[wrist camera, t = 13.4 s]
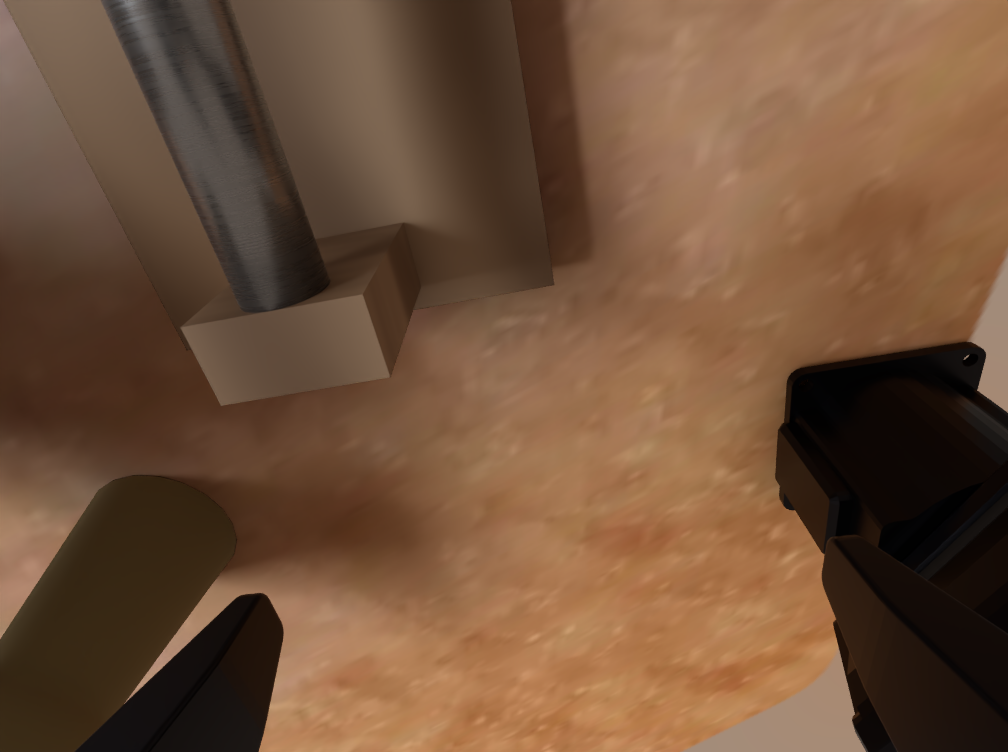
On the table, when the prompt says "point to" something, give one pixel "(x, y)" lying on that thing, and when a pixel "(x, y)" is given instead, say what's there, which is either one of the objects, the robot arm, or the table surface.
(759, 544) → the table surface
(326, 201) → the jig
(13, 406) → the table surface
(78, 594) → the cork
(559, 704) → the table surface
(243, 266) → the bolt
